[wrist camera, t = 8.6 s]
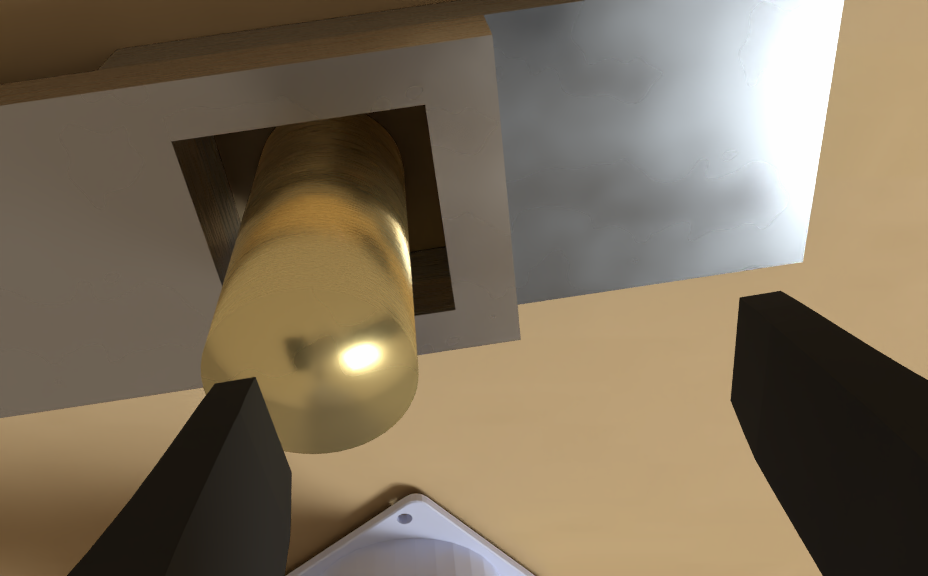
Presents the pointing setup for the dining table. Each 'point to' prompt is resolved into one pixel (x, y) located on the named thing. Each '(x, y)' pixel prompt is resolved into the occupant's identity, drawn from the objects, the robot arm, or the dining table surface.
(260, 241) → the pin
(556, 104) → the gray slotted block
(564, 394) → the dining table surface
